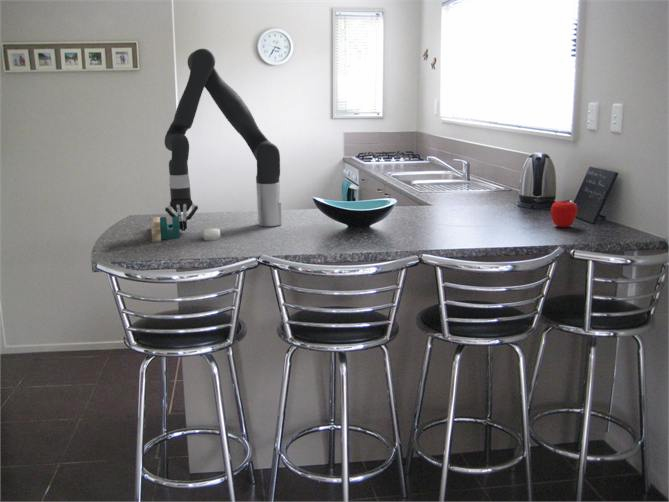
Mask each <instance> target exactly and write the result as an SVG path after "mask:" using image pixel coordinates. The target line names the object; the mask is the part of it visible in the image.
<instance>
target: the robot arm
mask: <svg viewBox="0 0 669 502" xmlns="http://www.w3.org/2000/svg"><path fill="white" fill-rule="evenodd" d="M215 65H216V58H215V56H214V54H213V52H212V51H210V50H209V49H207V48H198V49H196V50H194V51H192V52H191V53H190V54H189V56H188V57H187V66H188V67H187V68H188V69H189V71H190V73H189V77H188V80H187V83H186V86H185V88H184V91H183V92H182V95H181V98H180V99H179V102H178V105H177V107H176V111H175V114H174V117H173V120H172V122H171V123H170V126H169V127H168V129H167V130H166V131H167V132H166V134H165V136H164V146H165V148H166V149H167V151H171V159H170V160H168V170H169V181H168V182H169V193H170V201H169V205H168V206H166V207H165V208H164V210H165V212H166V213H167V214H168V215H169V216H170V217H171V218H172V217H173V216H178V218H179V228H180V230H181V232H185V231H186V230H187V229H188V225H187V221H188V220H191V219H192V218H193V216H194V214H196V212H197V211H198V210H199V206H198V205H197V204H195V203H194V202H193V200H192V196H191V195H192V194H191V193H192V192H191V181H190V176H189V166H188V161H189V155H190V154H189V153H190V142H189V139H188V137H187V136H186V133H187V131H189V129H191V128H192V126H193V124H194V120H195V117H196V113H197V110H198V107H199V104H200V102H201V97H202V95H203V92H204V90H205V89H206V91H207V92H208V93H209V95H210V97H211V99H213V101H214V103H215V104H216V106H217V107H218V109H219V110H220V112H221V113H222V115H224V117H225V118H226V120H227V122H229V123H230V125H231V127H233V128H234V130H235V131H236V132H237V133H238V134H239V135H240V136H241V138H242V139H243V140H244V142H245V143H246V145H247V146H248V148H249V149H250V151H251V152H252V155H253V157H254V158H255V160H256V176H255V182H256V183H255V184H256V208H257V209H256V210H257V225H258V226H260V227H277V226H282V224H283V223H282V221H283V220H282V201H281V193H280V192H281V190H280V188H281V187H280V178H281V177H280V176H281V155H280V150H279V147H278V146H277V145H276V144H274V143H272V142H271V141H270V140H269V139H268V138H267V136H266V135H264V133H263V132H262V130H261V129H260V128H259V126H258V125H257V122H256V121H255V118H254V117H253V115H252V111H250V109H249V107H248V106H247V105H246V103H245V101H244V100H243V99H242V97H241V96H240V95H239V94H238V92H236V90H234V89H233V88H232V87H231V86H229V85H228V83H226V82H225V80H224V79H223V78H222V77H221V76H220V74H219V73H218V71H217V69H216V68H215ZM204 88H205V89H204ZM190 209H191V211H190V212H189V214H188V215H187V212H188V211H189V210H190ZM172 210H174V211H175V213H177V215H176V214H175V213H174V212H173V211H172Z"/></svg>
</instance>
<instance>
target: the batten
mask: <svg viewBox="0 0 669 502" xmlns="http://www.w3.org/2000/svg"><path fill="white" fill-rule="evenodd" d="M160 217H161V216H153V219H152V224H151V241H152V243H157V242H158V243H159V242H162V239H161V230H160Z"/></svg>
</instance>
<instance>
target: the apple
mask: <svg viewBox="0 0 669 502" xmlns="http://www.w3.org/2000/svg"><path fill="white" fill-rule="evenodd" d="M578 210H579V209H578V205H577V204H576V203H574V202H573V201H569V200H568V201H567V200H557V201H554V202H553V203H552V205H551V208H550V217H551V220H552V223H553V224H554V225H555V226H556V227H558V228H569V227H571V226H572V225H573V224H574V221H575V220H576V217H577V215H578V212H579V211H578Z"/></svg>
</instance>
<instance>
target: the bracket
mask: <svg viewBox="0 0 669 502" xmlns="http://www.w3.org/2000/svg"><path fill="white" fill-rule="evenodd" d="M159 217H160V230H161V240H168V239H181V238H180V237H181V236H180V228H179V218H178V215H176V216H173V217H171V219H172V220H171V221H172V223H168V221H167V216H159Z"/></svg>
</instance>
